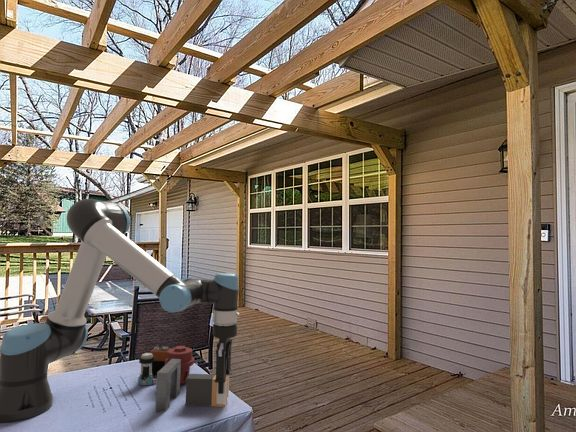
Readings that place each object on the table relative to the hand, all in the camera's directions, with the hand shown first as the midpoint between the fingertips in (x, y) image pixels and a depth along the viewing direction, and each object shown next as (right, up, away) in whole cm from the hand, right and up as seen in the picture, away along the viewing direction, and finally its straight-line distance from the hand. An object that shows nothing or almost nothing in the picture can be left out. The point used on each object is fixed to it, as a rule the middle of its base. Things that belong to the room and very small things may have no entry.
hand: (222, 399), depth 114 cm
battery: (-27, -2, +23) cm, 36 cm away
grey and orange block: (-5, -1, 0) cm, 5 cm away
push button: (-29, -2, +14) cm, 32 cm away
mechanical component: (-18, -2, +15) cm, 24 cm away
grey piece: (-17, -1, 0) cm, 17 cm away
